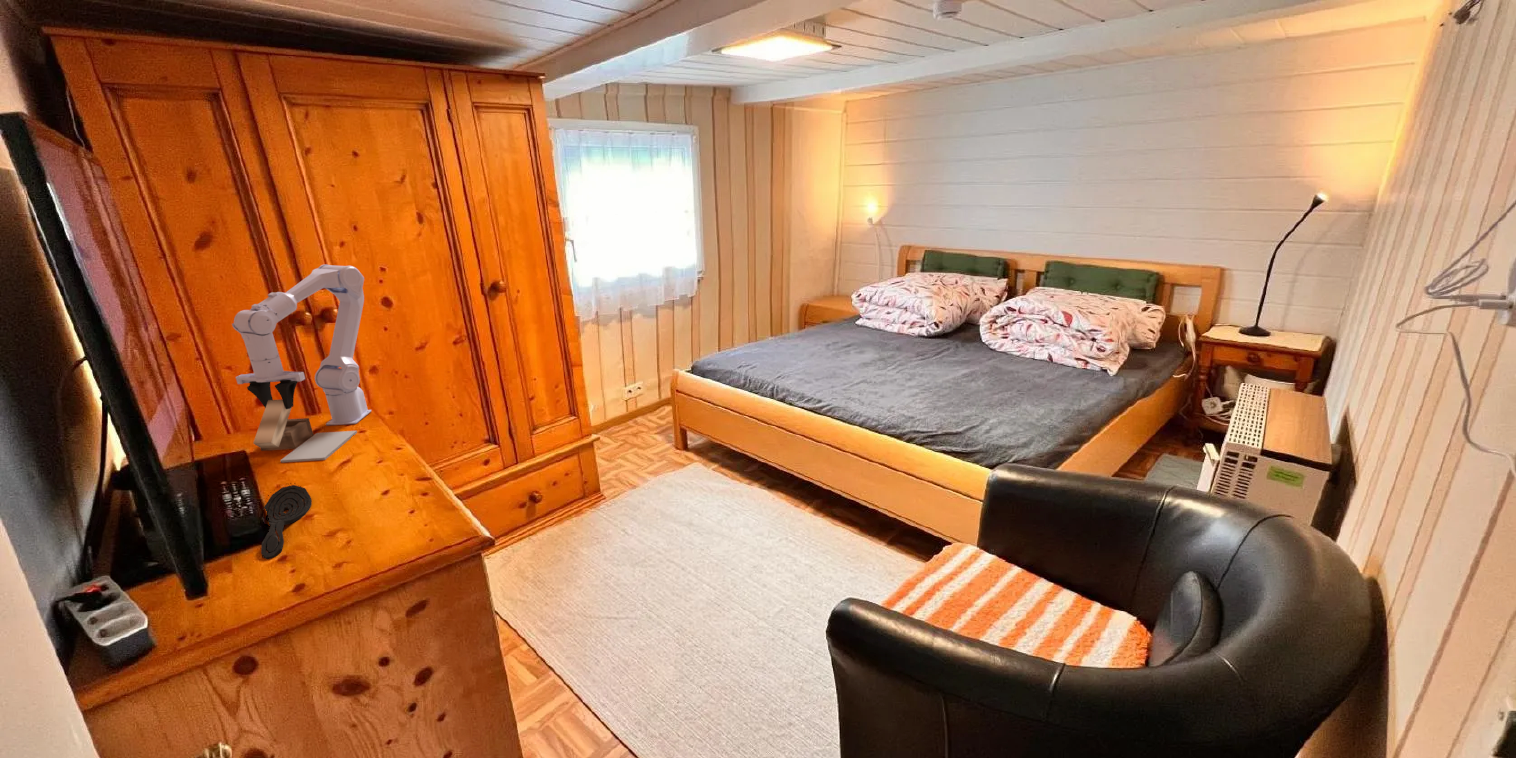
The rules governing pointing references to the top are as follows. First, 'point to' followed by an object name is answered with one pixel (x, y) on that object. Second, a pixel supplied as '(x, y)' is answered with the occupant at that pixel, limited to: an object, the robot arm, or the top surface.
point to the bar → (272, 424)
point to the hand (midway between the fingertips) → (280, 408)
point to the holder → (294, 434)
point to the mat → (319, 446)
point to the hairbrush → (283, 516)
